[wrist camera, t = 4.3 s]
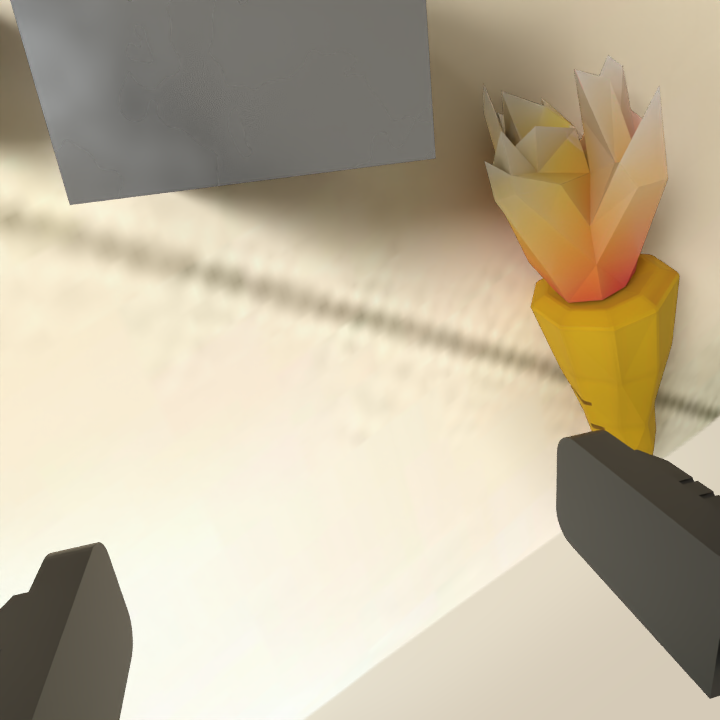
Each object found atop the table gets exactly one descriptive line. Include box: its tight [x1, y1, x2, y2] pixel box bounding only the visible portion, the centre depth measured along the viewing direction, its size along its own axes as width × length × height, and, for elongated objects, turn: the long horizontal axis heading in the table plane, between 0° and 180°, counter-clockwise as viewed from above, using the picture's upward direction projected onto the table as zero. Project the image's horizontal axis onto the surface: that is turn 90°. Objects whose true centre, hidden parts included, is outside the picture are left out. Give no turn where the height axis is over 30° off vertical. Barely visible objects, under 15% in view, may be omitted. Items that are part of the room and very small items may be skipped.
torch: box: [483, 55, 680, 455], centre depth 31 cm, size 8×8×25 cm
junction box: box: [10, 0, 436, 205], centre depth 21 cm, size 9×11×13 cm
